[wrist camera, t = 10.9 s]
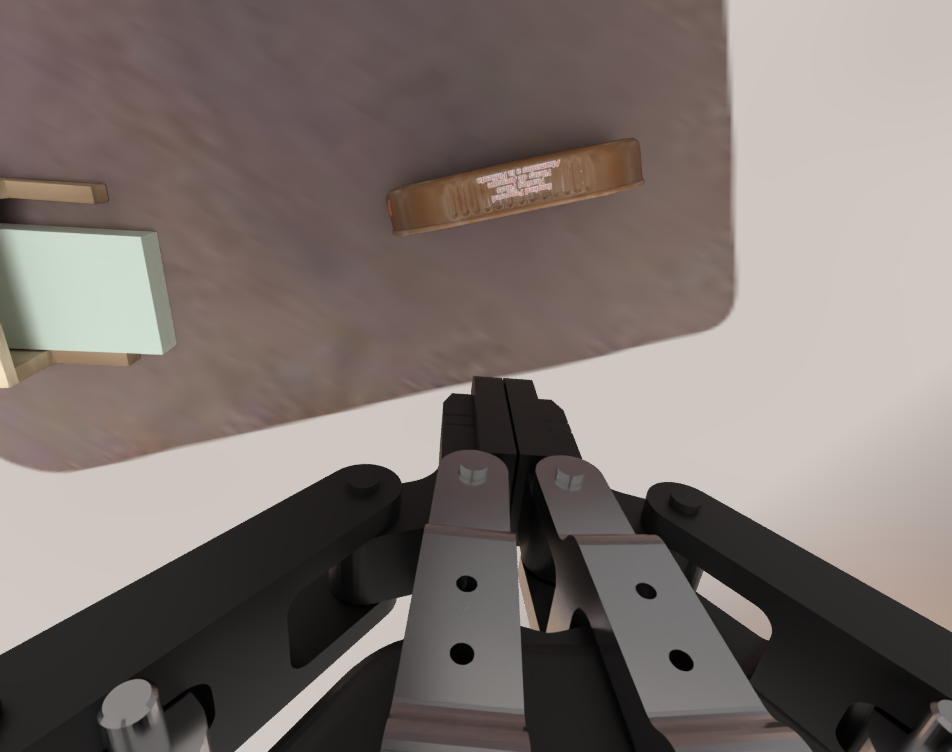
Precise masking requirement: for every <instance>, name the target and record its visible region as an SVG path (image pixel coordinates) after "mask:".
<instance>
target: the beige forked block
mask: <svg viewBox="0 0 952 752" xmlns="http://www.w3.org/2000/svg"><path fill="white" fill-rule="evenodd" d="M3 198H20V199H35V200H49V201H64V202H78V203H93V204H95V203H100V202H106V201H108V196H107V191H106V186H105V185H103V184H89V183H75V182H61V181H47V180H33V179H19V178H5V177H0V199H3ZM138 359H140V354H135V353H111V352H86V351H61V350H37V349H12V348H8V345H7V342H6V339H5V336H4V332H3V329H2V326H1V323H0V388H11V387H12V386H14V385H16V384H18V383H19V382H21V381H23V380H25V379H26V378H28V377H30V376H32V375H33V374H35V373H37V372H39V371H40V370H42V369H44V368H46V367H47V366H49V365H51V364H53V363H72V364H93V365H114V366H130V365H131V364H133V363H134V362H136V361H137V360H138Z"/></svg>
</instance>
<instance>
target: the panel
mask: <svg viewBox="0 0 952 752" xmlns="http://www.w3.org/2000/svg"><path fill="white" fill-rule="evenodd" d="M0 323H1V326H2V329H3V332H4V336H5V339H6V342H7V345H8V348H12V349H37V350H61V351H86V352H111V353H135V354H160V355H163V354H165V353H166V352H167V351H169V350H170V349H171V348H172V347H174V346H175V345H176V344H177V343H176V338H175V332H174V326H173V321H172V315H171V310H170V304H169V299H168V293H167V287H166V282H165V276H164V271H163V265H162V259H161V254H160V248H159V243H158V237H157V232H150V231H133V230H115V229H98V228H80V227H62V226H45V225H27V224H10V223H0Z"/></svg>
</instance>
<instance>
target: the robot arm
mask: <svg viewBox="0 0 952 752" xmlns="http://www.w3.org/2000/svg"><path fill="white" fill-rule="evenodd" d="M517 546H520V550H521V557H520V563H519V568H517ZM703 571H705V572H707V573H708V574H710V575H711V576H713V577H714V578H716V579H717V580H719V581H720V582H722V583H723V584H725V585H726V586H728V587H729V588H731V589H732V590H734V591H735V592H737V593H738V594H740V595H741V596H743V597H744V598H746V599H747V600H749V601H750V602H752V603H753V604H755V605H756V606H757V607H759V608H760V609H761V610H762V611H763V612H764V613H765V614H766V616H767V617H768V619H769V621H770V623H771V626H772V635H771V638H770V640H769V641H768V640H765V639H763V638H761V637H759V636H758V635H757V634H755V633H754V632H752V631H751V630H749V629H748V628H747V627H745V626H744V625H742V624H741V623H739V622H738V621H737V620H735V619H734V618H732V617H731V616H730V615H728V614H727V613H725V612H724V611H722V610H721V609H720V608H718V607H717V606H715V605H714V604H712V603H711V602H710V601H708V600H707V599H706V598H704V597H702V596H701V595H700V594H698V593H697V592H696V590H697V587H698V584H699V581H700V579H701V576H702V573H703ZM518 578H519V582H520V587H521V591H522V595H523V599H524V603H525V607H526V612H527V616H528V620H529V624H530V628H531V629H530V628H526V627H522V626H520V612H519V589H518ZM411 594H412V598H411V604H410V609H409V614H408V621H407V625H406V631H405V636H404V639H403V640H400V641H397V642H394V643H392V644H389V645H387V646H385V647H383V648H381V649H379V650H377V651H376V652H374V653H372V654H371V655H369V656H368V657H366V658H365V659H363V660H362V661H361V662H360V663H358V664H357V665H356V666H354V667H353V668H352V669H351V670H350V671H348V672H347V674H345V675H344V676H343V677H342V678H341V679H340V680H339V681H338V682H337V683H336V684H335V685H334V686H333V687H332V688H331V689H330V690H329V691H328V692H327V693H326V694H325V695H324V696H323V697H322V698H321V699H320V700H319V701H318V702H317V703H316V704H315V705H314V706H313V707H312V708H311V709H310V710H309V711H308V712H307V713H306V714H305V715H304V716H303V717H302V718H301V719H300V720H299V721H298V722H297V723H296V724H295V725H294V726H293V727H292V728H291V729H290V730H289V731H288V732H287V733H286V734H285V735H284V736H283V737H282V738H281V739H280V740H279V741H278V742H277V743H276V744H275V745H274V746H273V747H272V748H271V749H270V750H269V751H268V752H952V632H950V631H949V630H947V629H945V628H943V627H941V626H940V625H938V624H936V623H934V622H933V621H931V620H929V619H927V618H925V617H924V616H922V615H920V614H918V613H917V612H915V611H913V610H911V609H909V608H908V607H906V606H904V605H902V604H901V603H899V602H897V601H895V600H893V599H892V598H890V597H888V596H886V595H884V594H883V593H881V592H879V591H877V590H875V589H874V588H872V587H870V586H868V585H867V584H865V583H863V582H861V581H860V580H858V579H856V578H854V577H853V576H851V575H849V574H847V573H845V572H844V571H842V570H840V569H838V568H837V567H835V566H833V565H831V564H830V563H828V562H826V561H824V560H822V559H821V558H819V557H817V556H815V555H814V554H812V553H810V552H808V551H806V550H805V549H803V548H801V547H799V546H797V545H796V544H794V543H792V542H790V541H789V540H787V539H785V538H783V537H781V536H780V535H778V534H776V533H775V532H773V531H771V530H769V529H767V528H766V527H764V526H762V525H760V524H758V523H757V522H755V521H753V520H751V519H750V518H748V517H746V516H744V515H742V514H741V513H739V512H737V511H735V510H734V509H732V508H730V507H728V506H727V505H725V504H723V503H721V502H719V501H718V500H716V499H714V498H712V497H711V496H709V495H707V494H705V493H703V492H702V491H700V490H698V489H696V488H693V487H691V486H687V485H684V484H680V483H674V482H662V483H657V484H655V485H653V486H652V487H650V488H649V490H648V492H647V495H646V499H643V498H639V497H636V496H631V495H628V494H624V493H621V492H617V491H614V490H612V489H610V487H609V486H608V484H607V482H606V480H605V478H604V476H603V475H602V473H601V472H600V471H599V470H598V469H597V468H596V467H595V466H594V465H592V464H590V463H589V462H587V461H584V460H582V457H581V455H580V452H579V449H578V447H577V444H576V442H575V439H574V437H573V434H572V433H571V429H570V426H569V424H568V421H567V419H566V416H565V414H564V411H563V410H562V409H561V408H560V407H559V406H558V405H556V404H555V403H554V402H553V401H552V400H544V399H538V397H537V394H536V390H535V387H534V385H533V381H532V380H523V379H509V378H503V380H502V378H494V377H480V376H473V381H472V390H471V395H468V394H455V393H452V394H451V395H450V396H449V397H448V398H447V399H446V400H445V401H444V403H443V415H442V428H441V441H440V453H439V466H438V469H437V470H436V471H435V472H434V473H432V474H431V475H429V476H427V477H425V478H423V479H420V480H417V481H412V482H406V483H401V481H400V478H399V477H398V476H397V475H396V474H395V473H394V472H393V471H391V470H389V469H387V468H385V467H382V466H378V465H372V464H360V465H353V466H348V467H345V468H342V469H340V470H338V471H336V472H334V473H333V474H331V475H329V476H327V477H325V478H323V479H322V480H320V481H318V482H316V483H314V484H312V485H311V486H309V487H307V488H305V489H303V490H302V491H300V492H298V493H296V494H294V495H292V496H290V497H289V498H287V499H285V500H283V501H281V502H280V503H278V504H276V505H274V506H272V507H271V508H268V509H267V510H265V511H263V512H261V513H259V514H258V515H256V516H254V517H252V518H250V519H248V520H247V521H245V522H243V523H241V524H239V525H237V526H236V527H234V528H232V529H230V530H229V531H227V532H225V533H223V534H221V535H219V536H217V537H216V538H214V539H212V540H210V541H208V542H207V543H205V544H203V545H201V546H199V547H197V548H195V549H193V550H192V551H190V552H188V553H186V554H184V555H182V556H181V557H179V558H177V559H175V560H173V561H172V562H170V563H168V564H166V565H164V566H163V567H161V568H159V569H157V570H155V571H153V572H151V573H150V574H148V575H146V576H144V577H142V578H140V579H139V580H137V581H135V582H133V583H131V584H129V585H128V586H126V587H124V588H122V589H120V590H118V591H117V592H115V593H113V594H111V595H109V596H107V597H106V598H104V599H102V600H100V601H98V602H96V603H95V604H93V605H91V606H89V607H87V608H85V609H84V610H82V611H80V612H78V613H76V614H75V615H73V616H71V617H69V618H67V619H65V620H63V621H62V622H60V623H58V624H56V625H54V626H53V627H51V628H49V629H47V630H45V631H43V632H42V633H40V634H38V635H36V636H34V637H33V638H31V639H29V640H27V641H25V642H23V643H22V644H20V645H18V646H16V647H14V648H12V649H10V650H9V651H7V652H5V653H3V654H1V655H0V752H234V751H235V750H237V749H238V748H239V747H240V746H241V745H242V744H243V743H244V742H246V741H247V740H248V739H249V738H250V737H251V736H252V735H253V734H254V733H256V732H257V731H258V730H259V729H260V728H261V727H262V726H263V725H265V724H266V723H267V722H268V721H269V720H270V719H271V718H272V717H273V716H275V715H276V714H277V713H278V712H279V711H280V710H281V709H282V708H284V707H285V706H286V705H287V704H288V703H289V702H290V701H291V700H293V699H294V698H295V697H296V696H297V695H298V694H299V693H300V692H301V691H303V690H304V689H305V688H306V687H307V686H308V685H309V684H310V683H312V682H313V681H314V680H315V679H316V678H317V677H318V676H319V675H320V674H322V673H323V672H324V671H325V670H326V669H327V668H328V667H329V666H331V665H332V664H333V663H334V662H335V661H336V660H337V659H338V658H340V657H341V656H342V655H343V654H344V653H345V652H346V651H347V650H348V649H350V647H352V646H353V645H354V644H355V643H356V642H357V641H358V640H360V638H362V637H363V636H364V635H365V634H366V633H367V632H369V630H371V629H372V628H373V627H374V626H375V625H376V624H378V623H379V622H380V621H381V620H382V619H383V618H384V617H385V616H386V615H387V614H389V612H390V611H391V610H392V609H393V607H394V605H395V603H396V599H397V598H399V597H403V596H407V595H411Z"/></svg>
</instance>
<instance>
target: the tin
mask: <svg viewBox="0 0 952 752" xmlns="http://www.w3.org/2000/svg"><path fill="white" fill-rule="evenodd" d="M644 183H645V181H644V179H643V177H642V165H641V153H640V146H639V142H638V140H637V139H635V138H627V139H620V140H615V141H610V142H605V143H600V144H595V145H590V146H585V147H580V148H575V149H570V150H565V151H560V152H555V153H550V154H546V155H541V156H536V157H531V158H526V159H521V160H516V161H511V162H506V163H502V164H497V165H493V166H488V167H484V168H480V169H475V170H471V171H467V172H462V173H458V174H454V175H449V176H445V177H440V178H436V179H431V180H427V181H423V182H418V183H414V184H409V185H406V186H402V187H398V188H395V189H393V190H391V191H390V192H389V193H388V195H387V197H386V201H387V206H388V210H389V214H390V218H391V222H392V226H393V231H392V234H393V235H397V236H399V235H401V236H402V235H412V234H418V233H424V232H430V231H436V230H442V229H447V228H451V227H457V226H462V225H466V224H471V223H476V222H481V221H486V220H490V219H496V218H500V217H505V216H509V215H514V214H519V213H524V212H529V211H533V210H538V209H543V208H548V207H553V206H558V205H562V204H567V203H572V202H577V201H582V200H587V199H592V198H596V197H601V196H605V195H609V194H613V193H617V192H621V191H625V190H628V189H632V188H636V187H638V186H641V185H643V184H644Z"/></svg>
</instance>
